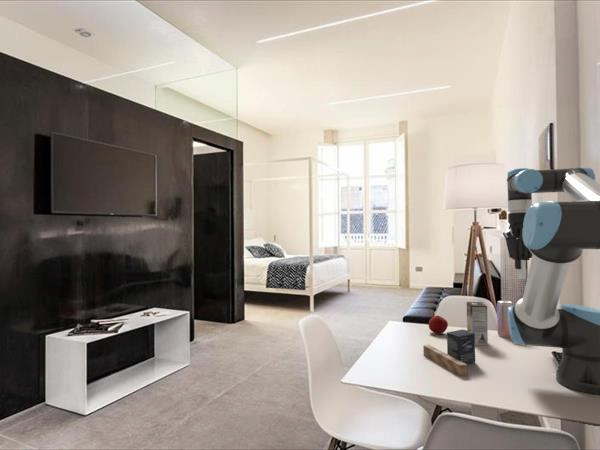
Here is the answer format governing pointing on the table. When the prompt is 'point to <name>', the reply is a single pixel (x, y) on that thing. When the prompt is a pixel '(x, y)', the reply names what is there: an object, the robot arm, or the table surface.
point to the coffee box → (477, 321)
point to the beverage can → (503, 318)
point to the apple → (438, 324)
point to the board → (445, 360)
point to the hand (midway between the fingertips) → (521, 278)
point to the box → (461, 345)
